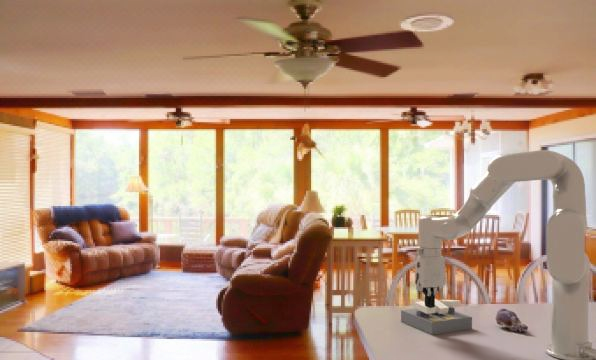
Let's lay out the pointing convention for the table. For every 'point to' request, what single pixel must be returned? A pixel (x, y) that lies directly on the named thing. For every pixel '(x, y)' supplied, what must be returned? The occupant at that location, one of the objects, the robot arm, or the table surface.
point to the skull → (510, 320)
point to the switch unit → (436, 321)
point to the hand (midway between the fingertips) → (429, 306)
